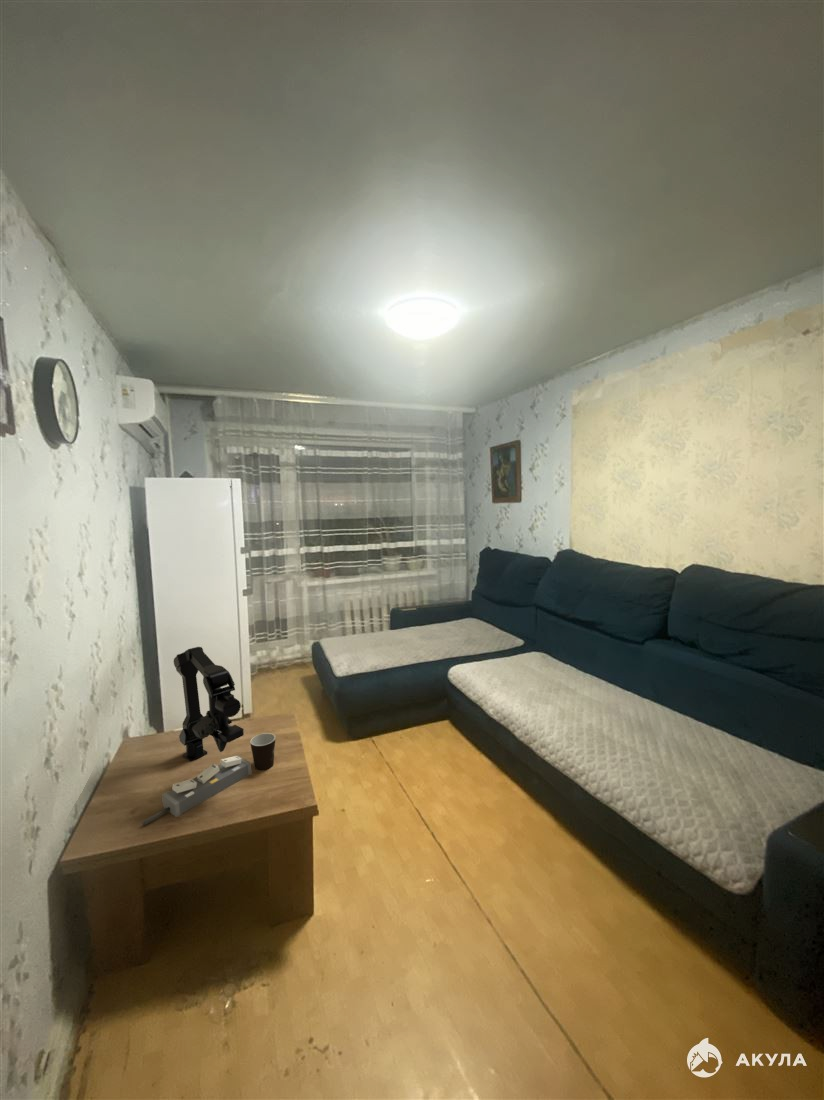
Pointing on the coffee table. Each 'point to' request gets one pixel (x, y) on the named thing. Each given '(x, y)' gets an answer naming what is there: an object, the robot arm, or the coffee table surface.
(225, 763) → the block
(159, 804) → the coffee table surface
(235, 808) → the coffee table surface
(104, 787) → the coffee table surface
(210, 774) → the block
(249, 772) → the power strip
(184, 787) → the white rectangular block
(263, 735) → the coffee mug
